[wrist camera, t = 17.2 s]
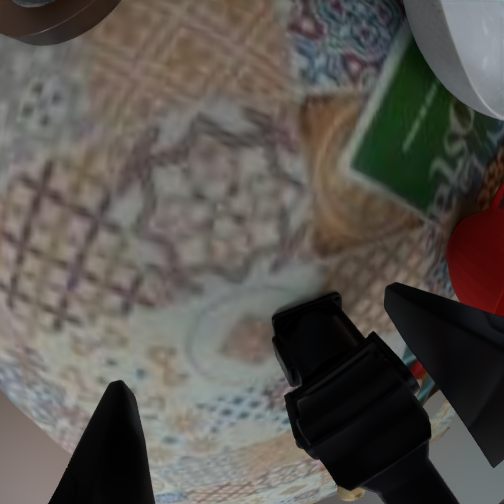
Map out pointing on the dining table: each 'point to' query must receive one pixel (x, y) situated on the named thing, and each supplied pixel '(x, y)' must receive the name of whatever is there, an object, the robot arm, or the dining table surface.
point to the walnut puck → (52, 19)
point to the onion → (350, 493)
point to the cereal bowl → (463, 48)
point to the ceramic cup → (479, 258)
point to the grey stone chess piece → (33, 3)
